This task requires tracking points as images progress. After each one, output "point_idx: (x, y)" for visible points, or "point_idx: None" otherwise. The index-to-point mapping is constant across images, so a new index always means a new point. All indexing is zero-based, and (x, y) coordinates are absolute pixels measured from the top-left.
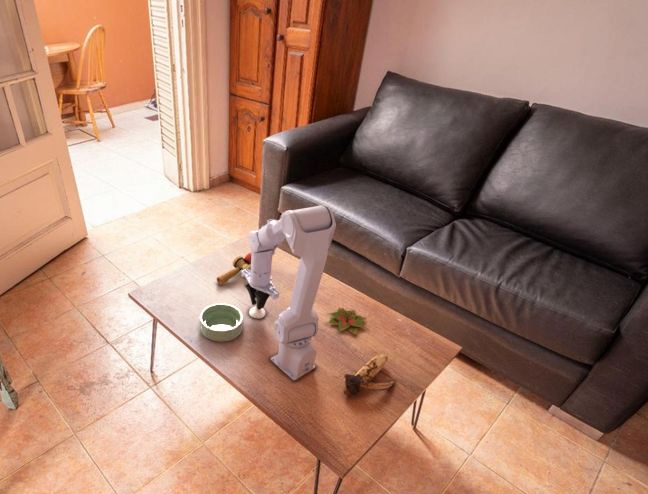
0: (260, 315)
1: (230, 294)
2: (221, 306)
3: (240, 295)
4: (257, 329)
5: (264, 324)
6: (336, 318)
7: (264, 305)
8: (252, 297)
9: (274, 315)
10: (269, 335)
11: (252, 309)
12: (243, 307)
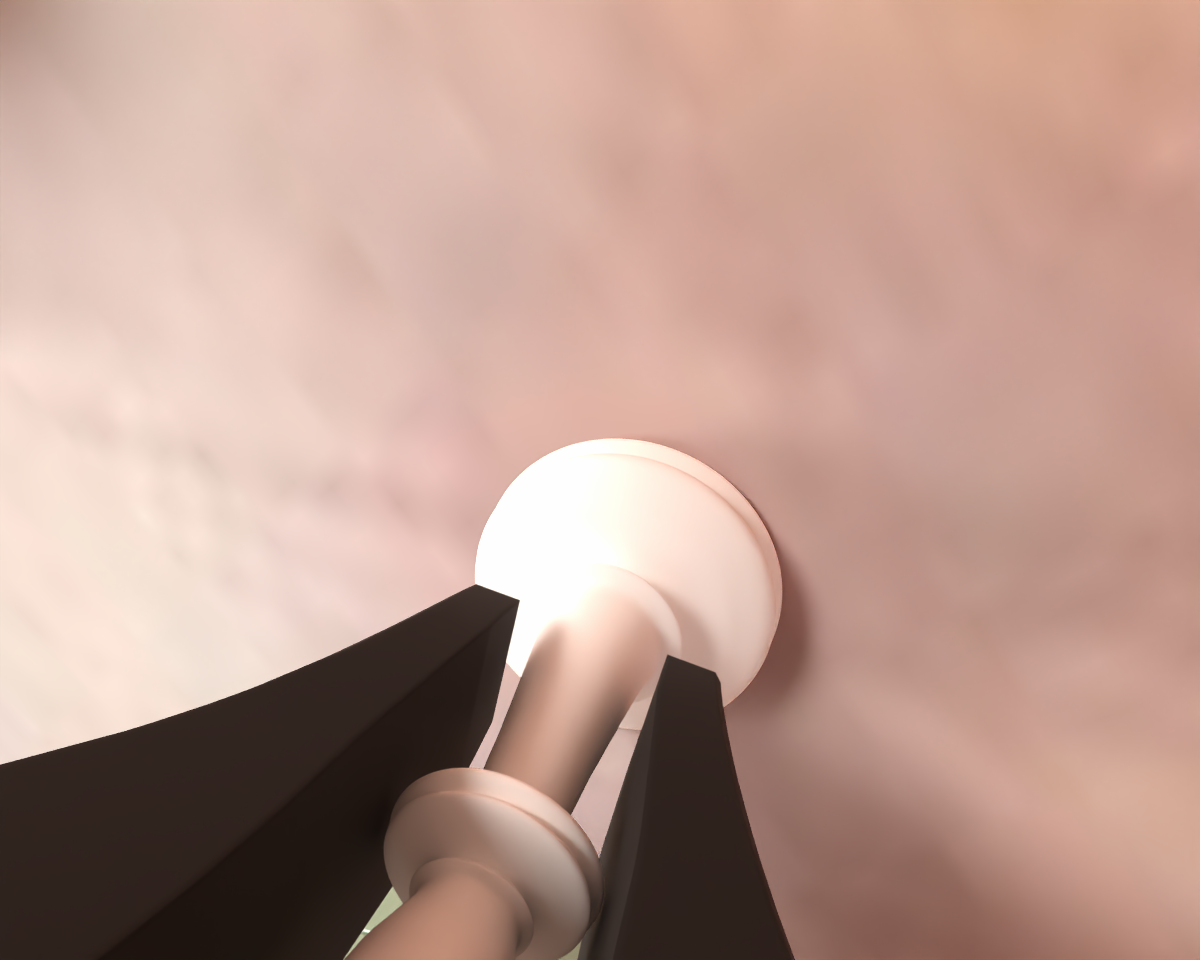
0: (735, 689)
1: (19, 407)
2: None
3: (113, 327)
4: (859, 903)
5: (903, 768)
6: None
7: (721, 705)
8: (341, 957)
9: (960, 456)
10: (1128, 956)
11: (518, 633)
12: (362, 569)
